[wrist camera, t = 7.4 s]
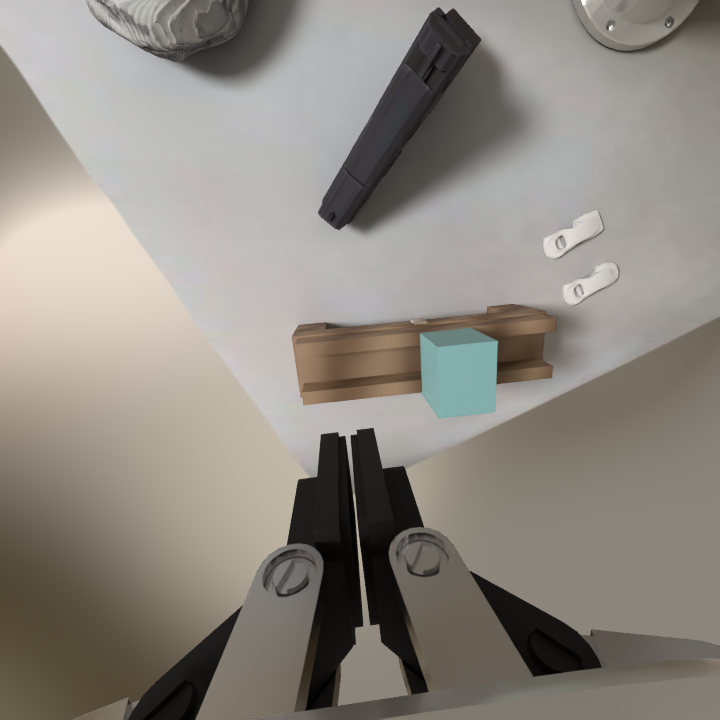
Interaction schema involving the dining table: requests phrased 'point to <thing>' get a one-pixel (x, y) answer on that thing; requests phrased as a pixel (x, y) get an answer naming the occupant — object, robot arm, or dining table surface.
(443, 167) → the dining table surface
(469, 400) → the teal rectangular block
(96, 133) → the dining table surface
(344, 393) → the beam
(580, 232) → the white curved pieces
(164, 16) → the decorative stone
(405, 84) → the handgun
